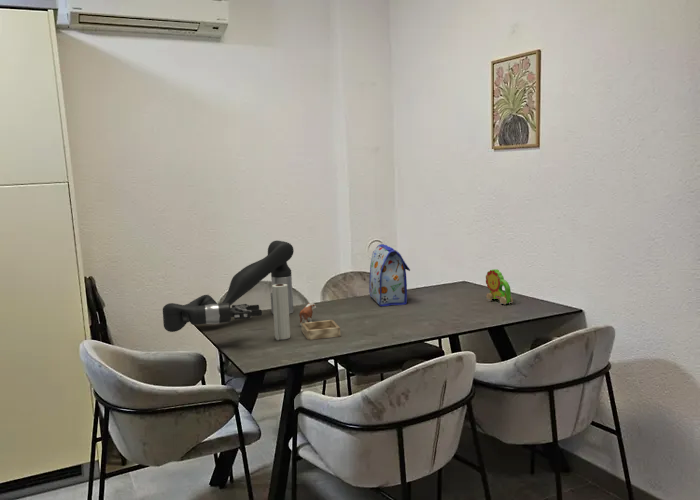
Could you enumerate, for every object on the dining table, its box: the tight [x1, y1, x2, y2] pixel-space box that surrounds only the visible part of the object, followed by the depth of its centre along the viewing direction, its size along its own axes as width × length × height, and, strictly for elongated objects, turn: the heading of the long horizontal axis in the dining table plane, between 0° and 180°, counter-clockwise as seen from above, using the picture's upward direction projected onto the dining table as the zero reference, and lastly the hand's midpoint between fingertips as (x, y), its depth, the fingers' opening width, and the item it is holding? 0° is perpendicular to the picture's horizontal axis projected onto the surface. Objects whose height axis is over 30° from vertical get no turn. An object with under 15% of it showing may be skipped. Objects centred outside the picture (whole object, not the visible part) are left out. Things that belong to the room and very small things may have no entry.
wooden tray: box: [301, 319, 341, 341], centre depth 248 cm, size 13×13×4 cm
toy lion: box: [485, 269, 514, 305], centre depth 288 cm, size 16×5×15 cm, turn 25°
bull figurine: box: [298, 301, 317, 327], centre depth 264 cm, size 4×13×8 cm, turn 161°
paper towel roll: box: [271, 284, 291, 342], centre depth 243 cm, size 7×6×21 cm
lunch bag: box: [368, 243, 411, 307], centre depth 299 cm, size 23×17×27 cm
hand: (260, 309), depth 240 cm, fingers open, 8 cm apart
